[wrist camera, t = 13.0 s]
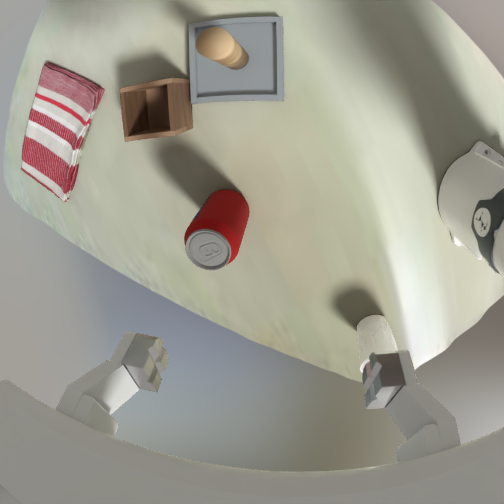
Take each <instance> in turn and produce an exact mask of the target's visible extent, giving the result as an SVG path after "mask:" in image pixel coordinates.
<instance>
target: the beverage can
mask: <svg viewBox="0 0 504 504" xmlns="http://www.w3.org/2000/svg"><path fill="white" fill-rule="evenodd" d="M248 217H249V206H248V204H247V202H246V200H245V199H244V197H243V196H241V195H240V194H239V193H237V192H235V191H232V190H219V191H216V192H214V193H213V194H211V195H210V196H209V198H208V199H207V200H206V202H205V203H204V204H203V206H202V207H201V209H200V210H199V212H198V213H197V215H196V216H195V217H194V219H193V221H192V222H191V224H190V225H189V227H188V228H187V230H186V232H185V237H184V241H185V248H186V253H187V256H188V258H189V259H190V260H191V261H192V262H193V263H194V264H195V265H196V266H198V267H200V268H202V269H205V270H218V269H220V268H222V267H224V266H225V265H227V264H229V263H230V262H232V261H233V260H234V259H235V257H236V256H237V254H238V251H239V248H240V245H241V241H242V238H243V235H244V231H245V228H246V225H247V221H248Z"/></svg>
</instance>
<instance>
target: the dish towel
mask: <svg viewBox="0 0 504 504" xmlns="http://www.w3.org/2000/svg"><path fill="white" fill-rule="evenodd" d="M103 93H104V89H102V88H101V87H99V86H97V85H95V84H93V83H91V82H89V81H88V80H86V79H84V78H82V77H80V76H78V75H76V74H74V73H71V72H69V71H67V70H65V69H63V68H60V67H58V66H56V65H54V64H52V63H46V64H44V66H43V68H42V72H41V76H40V80H39V84H38V87H37V91H36V94H35V98H34V102H33V105H32V108H31V112H30V115H29V120H28V124H27V129H26V134H25V137H24V144H23V149H22V165H21V170H22V171H24V172H25V173H26V174H28V175H29V176H30V177H32V178H33V179H35V180H36V181H37V182H38V183H40V184H41V185H43V186H44V187H46V188H47V189H48V190H50V191H51V192H53V193H54V194H55V195H56V196H57V197H58V198H60V199H61V200H62V201H64V202H67V201H69V196H70V193H71V191H72V189H73V187H74V184H75V181H76V177H77V172H78V167H79V160H80V157H81V153H82V150H83V147H84V144H85V141H86V138H87V135H88V131H89V127H90V125H91V122H92V119H93V116H94V114H95V112H96V108H97V106H98V104H99V102H100V100H101V98H102V95H103Z"/></svg>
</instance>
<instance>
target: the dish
mask: <svg viewBox="0 0 504 504" xmlns="http://www.w3.org/2000/svg"><path fill="white" fill-rule="evenodd" d="M211 27H219V28H222V29H224V30H226V31H227V32H228V33H229V34H230V35H231V36H232V37H233V38H234V39H235V40H236V41H237V42H238V43H239V44H240V45H241V47H242V48H243V49H244V50H245V51H246V52H247V53H248V56H249V61H248V63H247V65H246V66H245V67H244V68H242V69H239V70H233V69H230V68H228V67H226V66H224V65H222V64H220V63H217V62H215V61H213V60H211V59H208V58H206V57H204V56H202V55H200V54H199V53H198V51H197V49H196V45H195V44H196V39H197V37H198V35H199V34H200V33H201V32H202V31H204V30H205V29H208V28H211ZM189 66H190V92H191V104H195V103H207V102H222V101H254V100H267V101H284V55H283V17H241V18H228V19H218V20H210V21H203V22H196V23H190V24H189Z"/></svg>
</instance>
